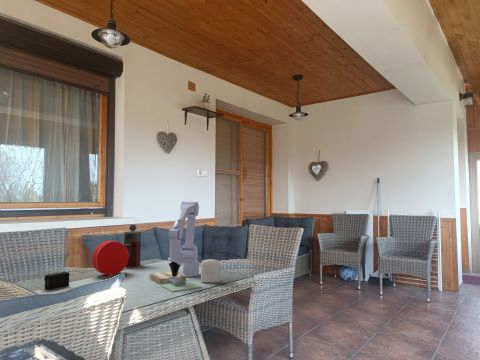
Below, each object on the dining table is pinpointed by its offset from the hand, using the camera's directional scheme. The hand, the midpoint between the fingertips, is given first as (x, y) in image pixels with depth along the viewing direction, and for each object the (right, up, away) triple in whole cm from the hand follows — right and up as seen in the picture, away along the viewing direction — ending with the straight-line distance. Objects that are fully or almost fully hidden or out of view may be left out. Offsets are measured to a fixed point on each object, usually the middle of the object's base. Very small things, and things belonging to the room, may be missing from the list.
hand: (174, 276), depth 185 cm
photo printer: (+19, -5, +4) cm, 20 cm away
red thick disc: (-43, -5, +21) cm, 48 cm away
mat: (+4, -4, -6) cm, 8 cm away
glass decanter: (-38, -7, +47) cm, 61 cm away
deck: (-6, -4, +8) cm, 11 cm away
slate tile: (+2, -3, -3) cm, 5 cm away
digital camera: (-59, -3, -9) cm, 60 cm away
